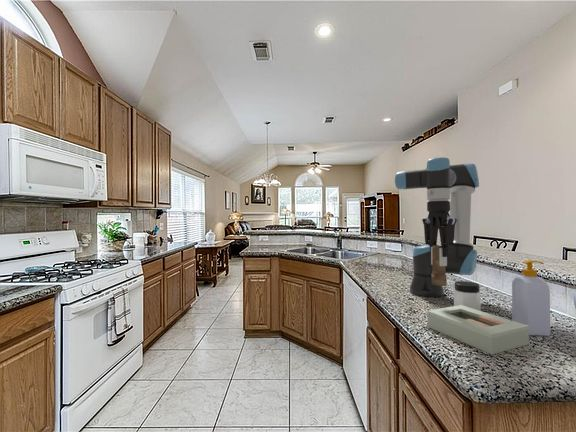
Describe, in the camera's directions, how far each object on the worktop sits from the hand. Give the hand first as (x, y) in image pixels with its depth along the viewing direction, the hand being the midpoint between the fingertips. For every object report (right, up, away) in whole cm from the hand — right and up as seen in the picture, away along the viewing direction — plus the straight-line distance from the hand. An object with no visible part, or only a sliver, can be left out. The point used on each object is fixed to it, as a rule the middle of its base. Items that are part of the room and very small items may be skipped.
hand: (439, 265), depth 108 cm
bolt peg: (0, -7, 0) cm, 7 cm away
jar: (+13, -20, +5) cm, 25 cm away
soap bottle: (+25, -20, -11) cm, 34 cm away
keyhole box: (+4, -20, -13) cm, 25 cm away
